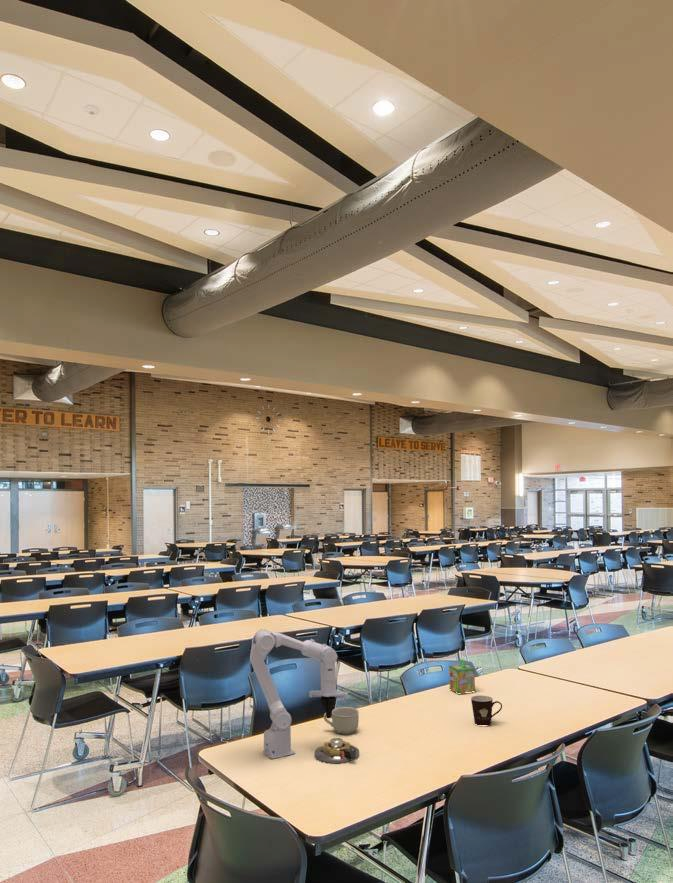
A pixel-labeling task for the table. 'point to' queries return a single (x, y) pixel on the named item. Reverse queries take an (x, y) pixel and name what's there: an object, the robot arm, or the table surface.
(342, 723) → the teacup
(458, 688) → the green patterned box
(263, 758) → the table surface
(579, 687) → the table surface
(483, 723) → the coffee mug
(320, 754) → the cap plate
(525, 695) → the table surface
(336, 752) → the gold handled ring
